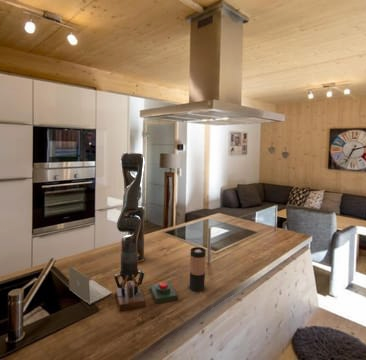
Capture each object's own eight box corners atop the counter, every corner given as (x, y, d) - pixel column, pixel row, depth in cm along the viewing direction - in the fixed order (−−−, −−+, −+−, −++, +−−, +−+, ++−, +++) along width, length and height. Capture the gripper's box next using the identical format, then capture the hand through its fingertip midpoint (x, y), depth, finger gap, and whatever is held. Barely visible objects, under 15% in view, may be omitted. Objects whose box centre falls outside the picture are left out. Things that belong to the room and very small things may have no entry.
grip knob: (127, 290, 132) (127, 281, 131) (130, 290, 132) (130, 280, 132) (129, 297, 126) (129, 287, 126) (132, 297, 127) (132, 287, 126)
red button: (158, 286, 135) (158, 282, 135) (165, 285, 137) (165, 281, 136) (160, 290, 132) (160, 286, 132) (167, 288, 133) (168, 285, 133)
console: (116, 293, 135) (115, 287, 134) (138, 290, 138) (138, 284, 138) (119, 311, 121) (119, 304, 121) (144, 306, 125) (144, 300, 124)
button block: (150, 289, 139) (150, 282, 138) (169, 286, 142) (169, 279, 141) (156, 303, 128) (156, 295, 127) (177, 299, 131) (177, 291, 130)
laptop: (112, 294, 134) (112, 268, 132) (89, 305, 125) (88, 278, 123) (91, 280, 146) (91, 257, 144) (69, 290, 137) (68, 265, 135)
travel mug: (186, 285, 143) (187, 248, 140) (200, 282, 146) (201, 246, 143) (193, 293, 137) (194, 254, 134) (207, 290, 140) (208, 251, 137)
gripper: (143, 254, 132) (142, 287, 135) (112, 257, 128) (112, 292, 130) (146, 260, 125) (146, 296, 128) (114, 264, 121) (114, 301, 123)
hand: (129, 293), depth 129 cm, fingers open, 4 cm apart
